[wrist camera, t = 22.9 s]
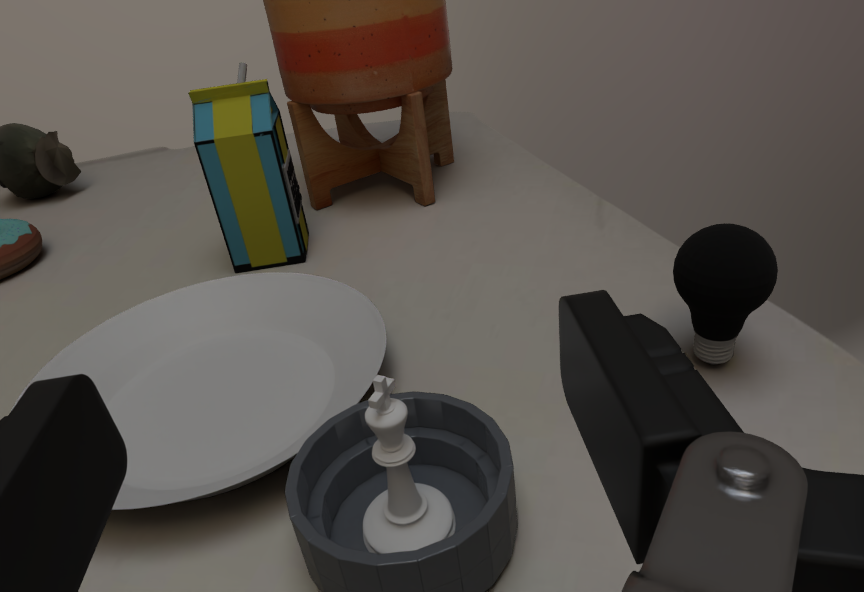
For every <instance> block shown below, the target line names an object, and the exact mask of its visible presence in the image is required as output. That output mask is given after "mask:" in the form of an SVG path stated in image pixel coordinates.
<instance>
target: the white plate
mask: <svg viewBox="0 0 864 592" xmlns="http://www.w3.org/2000/svg"><path fill="white" fill-rule="evenodd" d="M385 349H386V329H385V324H384V321H383V319H382V316H381V314H380V312H379V311H378V309H377V308H376V306H375V305H374V304H373V303H372V302H371V301H370V300H369V299H368V298H367V297H366V296H365V295H363V294H362V293H361V292H359V291H358V290H356V289H354V288H353V287H351V286H349V285H346V284H344V283H342V282H339V281H336V280H333V279H329V278H326V277H321V276H316V275H310V274H302V273H288V272H270V273H255V274H245V275H238V276H231V277H225V278H220V279H215V280H211V281H206V282H202V283H198V284H195V285H191V286H188V287H184V288H181V289H178V290H175V291H172V292H169V293H166V294H163V295H161V296H158V297H155V298H153V299H150V300H148V301H146V302H143V303H141V304H139V305H136V306H134V307H132V308H130V309H128V310H126V311H124V312H122V313H120V314H118V315H116V316H114V317H112V318H110V319H108V320H107V321H105V322H103V323H101V324H100V325H98V326H96V327H95V328H93V329H92V330H90V331H88V332H87V333H85V334H84V335H82V336H81V337H79V338H78V339H77V340H75V341H74V342H72V343H71V344H70V345H68V346H67V347H66V348H65V349H63V350H62V351H61V352H60V353H58V354H57V355H56V356H55V357H54V358H53V359H52V360H50V361H49V362H48V363H47V364H46V365H45V366H44V367H43V368H42V369H41V370H40V371H39V372H38V373H37V374H36V375H35V377H34V378H33V379H32V380H31V381H30V382H29V384H28V385H27V386H26V388H25V389H24V390H23V392H22V393H21V395H20V396H19V398H18V399H17V401H16V403H15V405H16V404H17V402H18V401H19V400H20V398H21V397H22V395H23V394H24V392H25V391H26V390H27V388H28V387H29V386H30V385H31V384H32V383H33V382H36V381H40V380H46V379H52V378H59V377H65V376H71V375H77V374H85V375H87V376H88V377H89V378H91V380H92V381H93V382H94V384H95V386H96V388H97V390H98V392H99V393H100V395H101V397H102V399H103V401H104V403H105V405H106V407H107V409H108V411H109V413H110V415H111V417H112V419H113V421H114V423H115V425H116V426H117V428H118V430H119V432H120V434H121V436H122V438H123V440H124V443H125V446H126V451H127V471H126V476H125V478H124V481H123V483H122V486H121V488H120V491H119V493H118V496H117V498H116V500H115V503H114V505H113V508H112V510H121V509H136V508H146V507H153V506H160V505H165V504H171V503H176V502H184V501H191V500H197V499H202V498H206V497H210V496H214V495H218V494H221V493H225V492H228V491H231V490H234V489H236V488H239V487H241V486H244V485H246V484H249V483H251V482H253V481H255V480H257V479H260V478H262V477H263V476H265V475H267V474H269V473H271V472H273V471H274V470H276V469H278V468H279V467H281V466H283V465H284V464H286V463H287V462H289V461H290V460H292V459H293V458H294V457H296V455H297V453H298V452H299V450H300V448H301V447H302V445H303V444H304V442H305V441H306V439H307V438H308V437H310V436H311V435H312V434H313V433H314V432H315V431H316V430H317V429H318V428H319V427H320V426H321V425H323V424H324V423H325V422H326V421H327V420H328V419H330V418H332V417H333V416H335V415H337V414H339V413H340V412H342V411H344V410H346V409H348V408H349V407H351V406H353V405H355V404H357V403H358V402H359V401H360V399H361V398H362V397H363V396H364V394H365V393H366V391H367V390H368V389H369V387H370V386H371V384H372V382H373V379H374V378H375V377H376V375H377V373H378V371H379V369H380V367H381V364H382V361H383V358H384V354H385ZM15 405H14V406H13V408H14V407H15ZM13 408H12V410H13ZM12 410H11V411H12Z"/></svg>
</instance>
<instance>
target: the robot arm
mask: <svg viewBox="0 0 864 592" xmlns="http://www.w3.org/2000/svg"><path fill="white" fill-rule="evenodd" d="M559 334H560V368H561V378H562V384H563V389H564V393H565V397H566V400H567V403H568V406H569V408H570V410H571V413H572V415H573V417H574V420H575V422H576V424H577V427H578V429H579V431H580V434H581V436H582V438H583V441H584V443H585V445H586V448H587V450H588V452H589V455H590V457H591V459H592V461H593V464H594V466H595V468H596V471H597V473H598V475H599V478H600V480H601V482H602V485H603V487H604V489H605V492H606V494H607V496H608V499H609V501H610V503H611V506H612V508H613V510H614V513H615V515H616V517H617V520H618V522H619V524H620V526H621V529H622V531H623V533H624V536H625V538H626V540H627V543H628V545H629V547H630V550H631V552H632V554H633V557H634V559H635V561H636V564H642V563H643V565H642V568H641V570H640V571H639V572H636V571H633V572H632V573H631V574H630V575H629V577H628V579H627V581H626V583H625V585H624V587H623V590H622V592H864V475H858V474H847V473H835V472H824V471H817V470H810V469H806V468H802V467H801V466H800V465H799V463H798V462H797V461H796V460H795V459H794V458H793V457H792V456H791V455H790V454H789V453H788V452H787V451H785V450H784V449H783V448H781V447H779V446H778V445H776V444H774V443H773V442H770V441H768V440H766V439H764V438H761V437H758V436H755V435H751V434H746V433H744V432H743V431H742V429H741V428H740V427H739V425H738V424H737V423H736V421H735V420H734V419H733V417H732V416H731V415H730V413H729V412H728V411H727V409H726V408H725V407H724V405H723V404H722V403H721V401H720V400H719V399H718V397H717V396H716V395H715V393H714V392H713V391H712V389H711V388H710V387H709V385H708V384H707V383H706V381H705V380H704V379H703V377H702V376H701V375H700V373H699V372H698V371H697V370H694V365H693V364H692V363H691V361H690V360H689V359H688V357H687V356H686V355H685V353H682V351H681V348H680V347H679V345H678V344H677V342H676V341H675V340H674V338H673V337H672V336H671V334H670V333H669V332H668V330H667V329H666V328H664V327H663V326H661V325H659V324H658V323H656V322H654V321H653V320H651V319H649V318H648V317H646V316H644V315H643V314H635V315H629V316H623V315H622V313H621V312H620V310H619V309H618V307H617V306H616V304H615V303H614V301H613V300H612V298H611V297H610V295H609V294H608V293H607V291H605V290H600V291H594V292H588V293H582V294H575V295H569V296H563V297H561V298H560V301H559ZM126 471H127V451H126V446H125V443H124V440H123V438H122V436H121V434H120V432H119V430H118V428H117V426H116V425H115V423H114V421H113V419H112V417H111V415H110V413H109V411H108V409H107V407H106V405H105V403H104V401H103V399H102V397H101V395H100V393H99V392H98V390H97V388H96V386H95V384H94V382H93V381H92V380H91V378H89V377H88V376H87V375H85V374H77V375H71V376H65V377H59V378H52V379H46V380H40V381H36V382H33V383H32V384H31V385H30V386H29V387H28V388H27V390H26V391H25V392H24V394H23V395H22V397H21V398H20V400H19V401H18V402H17V404H16V405H15V407H14V408H13V410H12V411H11V413H10V414H9V415H8V416H5V417H4V418H2V419H1V420H0V592H78V590H79V588H80V585H81V583H82V580H83V578H84V575H85V573H86V571H87V568H88V566H89V563H90V561H91V559H92V556H93V554H94V551H95V549H96V546H97V544H98V542H99V539H100V537H101V534H102V532H103V529H104V527H105V525H106V522H107V520H108V517H109V515H110V512H111V510H112V508H113V505H114V503H115V500H116V498H117V496H118V493H119V491H120V488H121V486H122V483H123V481H124V478H125V476H126Z"/></svg>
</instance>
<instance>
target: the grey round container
mask: <svg viewBox="0 0 864 592" xmlns="http://www.w3.org/2000/svg"><path fill="white" fill-rule="evenodd" d="M389 396H390V398H395V399H398V400H400V401H402V402H403V403H404V404H405V405H406V407H407V410H408V415H407V420H406V423H405V427H404V434H406V435H408V436H409V437H411V439H412V440H413V442H414V443H415V447H416V450H415V454H414V455H413V457H412V458H411V459H410V460H409V461H408V462H407V464H408V467H409V470H410V472H411V475H412V478H413V481H414V483H420V484H425V485H429V486H431V487H434V488H436V489H437V490H439V491H440V492H442V493H443V494H444V495H445V496H446V498H447V499H448V500H449V502H450V504H451V507H452V510H453V512H454V515H455V520H456V527H455V532H454V534H453V535H452V536H450V537H448V538H446V539H443V540H441V541H438V542H436V543H433V544H430V545H428V546H425V547H423V548H420V549H417V550H412V551H403V552H393V553H384V554H377V553H371V552H369V551H368V549H367V547H366V545H365V543H364V539H363V519H364V515H365V512H366V510H367V508H368V507H369V505H370V504H371V502H372V501H373V500H374V499H375V498H376V497H377V496H378V495H380V494H381V493H382V492H384V491H386V490H387V489H388V482H387V469H386V467H384V466H381V465H379V464H377V463H376V462H375V461H374V459H373V457H372V449H373V445H374V443H375V442H376V441H377V440H378V438H377V437H376V435H375V433H374V432H373V431H372V430H371V429H370V427H369V426H368V424H367V423H366V420H365V412H366V410H367V408H368V407H369V402H368V400H367V401H364V402H361V403H358V404H355V405H353V406H351V407H349V408H348V409H346V410H344V411H342V412H340V413H339V414H337V415H335V416H333V417H332V418H330V419H328V420H327V421H326V422H325V423H324V424H323V425H321V426H320V427H319V428H318V429H317V430H316V431H315V432H314V433H313V434H312V435H311V436H310V437H308V438H307V439H306V441H305V442H304V444H303V445H302V447H301V448H300V450H299V452H298V453H297V455H296V457H295V458H294V460H293V461H292V463H291V465H290V469H289V474H288V479H287V483H286V488H285V497H286V501H287V506H288V511H289V516H290V520H291V522H292V525H293V528H294V531H295V534H296V537H297V540H298V543H299V546H300V548H301V551H302V554H303V557H304V560H305V563H306V566H307V569H308V572H309V575H310V577H311V579H312V580H313V581H314V583H315V584H316V586H317V587H318V588H319V590H320V591H321V592H485V591H486V590H488V589H489V588H490V587H491V586H492V585H493V584H494V583H495V581H496V580H497V578H498V577H499V575H500V573H501V572H502V570H503V569H504V567H505V565H506V564H507V562H508V561H509V559H510V557H511V555H512V552H513V547H514V542H515V538H516V533H517V528H518V521H517V508H516V495H515V481H514V467H513V461H512V456H511V451H510V446H509V442H508V440H507V438H506V437H505V435H504V434H503V432H502V431H501V429H500V428H499V426H498V425H497V423H496V422H495V421H494V420H493V418H491V417H490V416H489V415H487V414H486V413H484V412H483V411H482V410H480V409H479V408H477V407H476V406H474V405H473V404H471V403H468V402H465V401H463V400H460V399H457V398H454V397H451V396H448V395H444V394H436V393H425V392H406V393H397V394H389Z"/></svg>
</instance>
